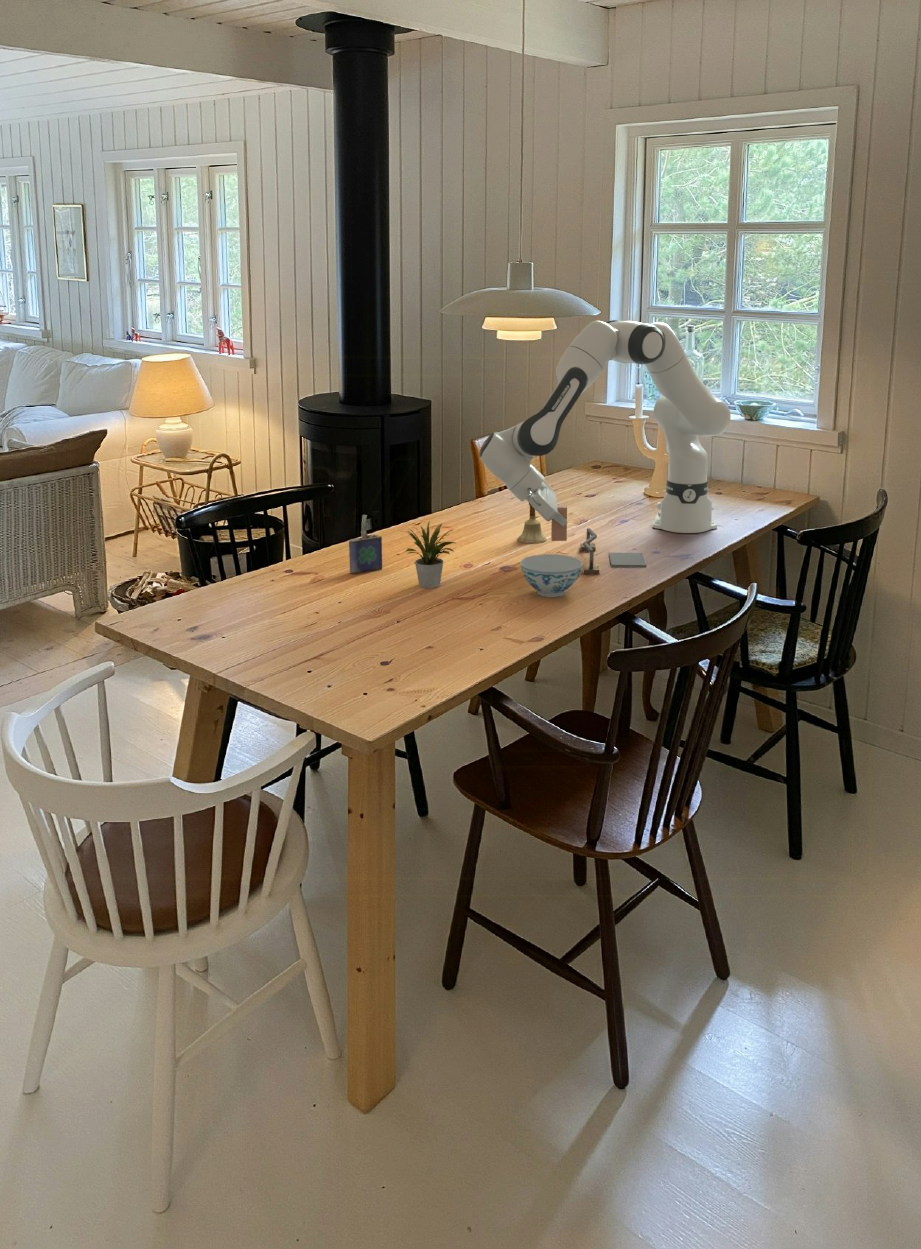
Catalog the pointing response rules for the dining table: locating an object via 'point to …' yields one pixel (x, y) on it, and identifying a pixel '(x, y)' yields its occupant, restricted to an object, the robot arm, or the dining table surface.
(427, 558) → the house plant
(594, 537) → the zigzag wire
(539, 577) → the chinaware
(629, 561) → the slate tile
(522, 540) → the hand bell
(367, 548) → the flask
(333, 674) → the dining table surface
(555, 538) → the brick block
